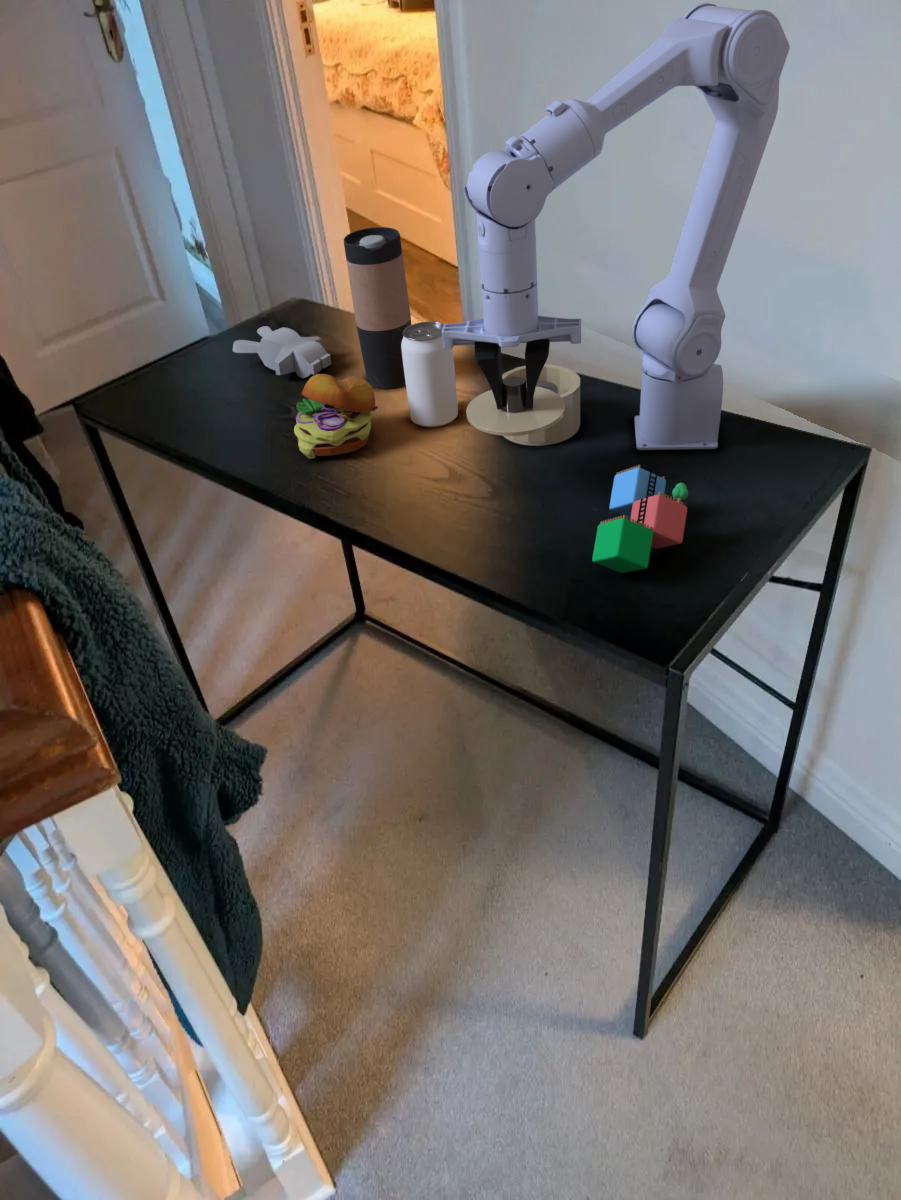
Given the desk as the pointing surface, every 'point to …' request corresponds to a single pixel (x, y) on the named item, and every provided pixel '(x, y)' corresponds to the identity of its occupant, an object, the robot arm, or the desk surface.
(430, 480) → the desk surface
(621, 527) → the building blocks
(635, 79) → the robot arm
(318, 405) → the cheeseburger
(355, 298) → the travel mug
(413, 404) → the can
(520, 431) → the pot lid
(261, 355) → the bunny figurine
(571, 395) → the beige hollow cylinder
